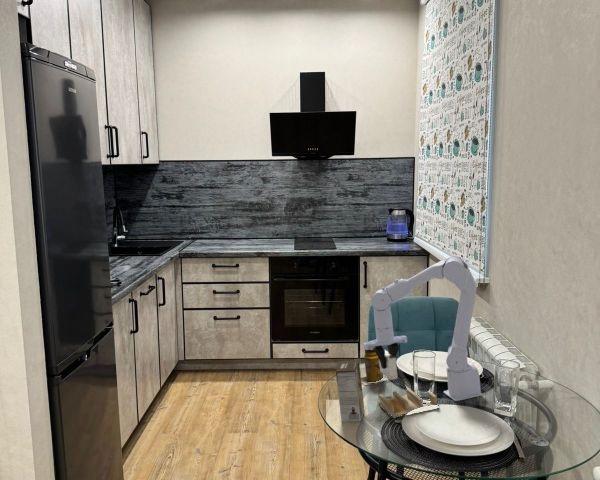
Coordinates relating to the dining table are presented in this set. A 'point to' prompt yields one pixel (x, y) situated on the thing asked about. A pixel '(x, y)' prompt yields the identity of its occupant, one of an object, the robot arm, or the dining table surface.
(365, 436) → the dining table surface
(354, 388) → the coffee box
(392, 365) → the panel
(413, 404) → the rack
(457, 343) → the robot arm
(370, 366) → the condiment
